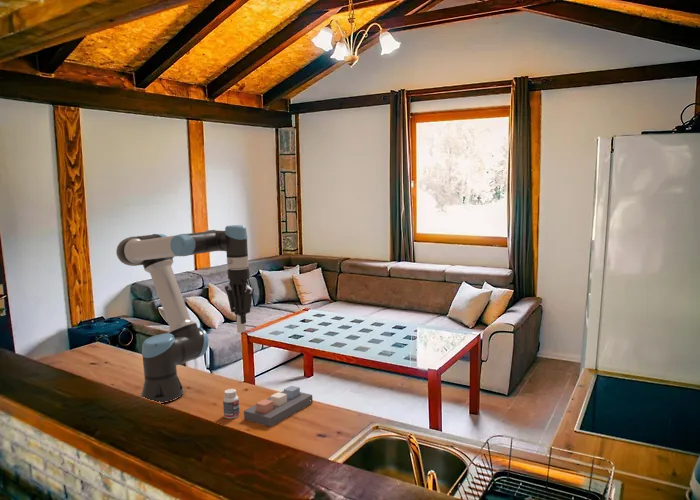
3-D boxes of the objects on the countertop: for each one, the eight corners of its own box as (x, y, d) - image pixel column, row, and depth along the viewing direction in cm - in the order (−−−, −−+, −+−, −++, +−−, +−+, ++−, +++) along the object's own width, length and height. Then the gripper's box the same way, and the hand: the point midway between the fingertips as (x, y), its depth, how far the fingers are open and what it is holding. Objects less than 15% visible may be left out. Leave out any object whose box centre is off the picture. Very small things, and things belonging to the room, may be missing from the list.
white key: (271, 407, 182) (270, 396, 181) (278, 403, 185) (278, 392, 184) (279, 409, 179) (279, 398, 179) (287, 405, 183) (286, 394, 182)
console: (244, 419, 177) (243, 410, 176) (287, 396, 195) (286, 389, 194) (270, 426, 170) (270, 418, 170) (312, 402, 188) (312, 394, 188)
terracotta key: (256, 414, 176) (256, 403, 175) (265, 410, 179) (264, 399, 179) (265, 417, 174) (264, 405, 173) (273, 412, 177) (273, 401, 176)
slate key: (284, 400, 187) (283, 389, 187) (291, 396, 191) (291, 385, 190) (293, 402, 185) (292, 391, 185) (300, 398, 188) (299, 387, 188)
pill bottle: (235, 419, 177) (234, 394, 176) (221, 418, 178) (219, 393, 177) (242, 412, 182) (240, 388, 181) (228, 412, 183) (226, 387, 182)
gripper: (217, 268, 189) (221, 331, 192) (243, 270, 182) (246, 336, 185) (233, 265, 195) (236, 327, 198) (258, 267, 188) (261, 331, 191)
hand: (241, 331), depth 191 cm, fingers closed
